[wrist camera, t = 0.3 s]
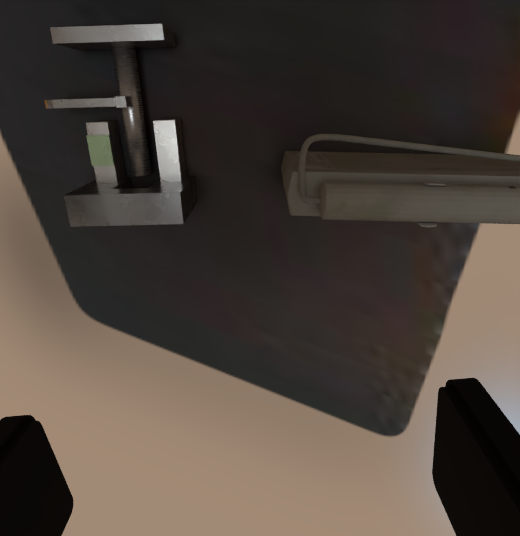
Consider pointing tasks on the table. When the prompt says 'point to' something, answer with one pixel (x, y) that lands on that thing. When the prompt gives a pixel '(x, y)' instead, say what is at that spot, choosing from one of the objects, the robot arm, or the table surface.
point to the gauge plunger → (119, 77)
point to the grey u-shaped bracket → (120, 188)
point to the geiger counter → (402, 184)
